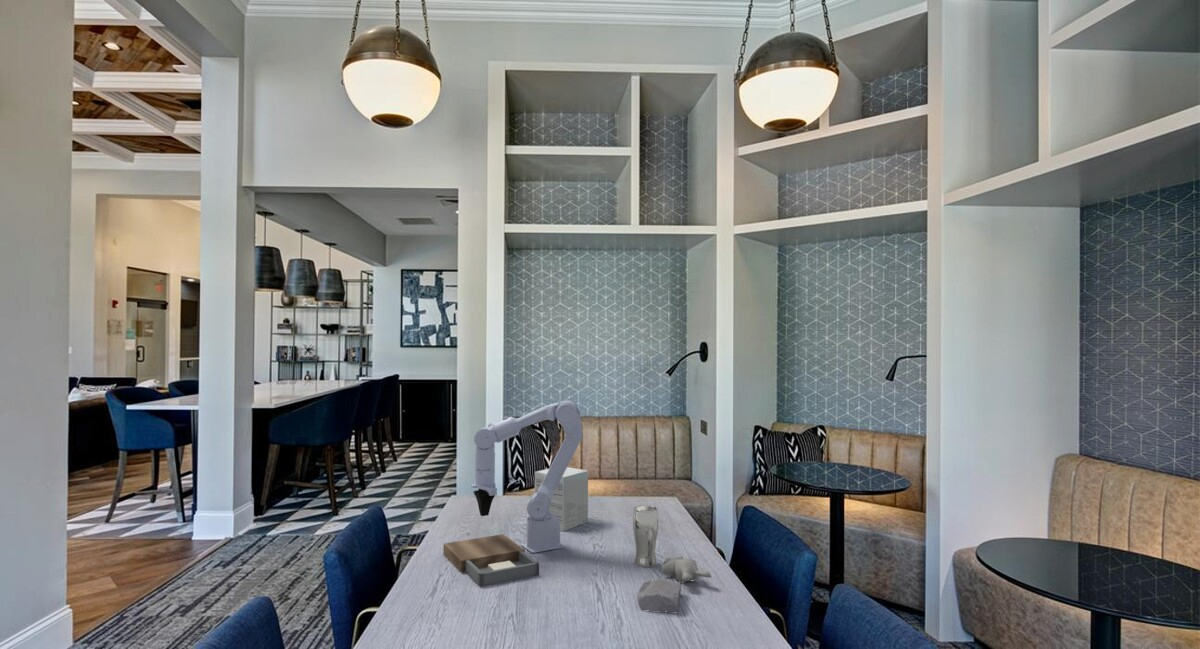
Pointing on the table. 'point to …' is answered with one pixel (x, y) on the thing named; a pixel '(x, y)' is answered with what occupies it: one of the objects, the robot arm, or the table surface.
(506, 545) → the drawer casing
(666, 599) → the stone block
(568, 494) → the supplement box
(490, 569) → the tile
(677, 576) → the bunny figurine
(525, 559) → the box
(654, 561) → the beer glass
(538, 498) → the robot arm
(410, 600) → the table surface
